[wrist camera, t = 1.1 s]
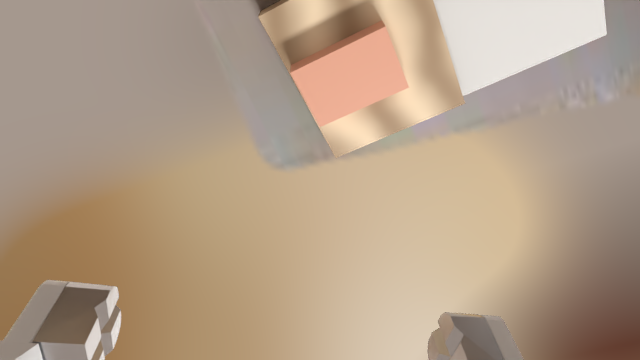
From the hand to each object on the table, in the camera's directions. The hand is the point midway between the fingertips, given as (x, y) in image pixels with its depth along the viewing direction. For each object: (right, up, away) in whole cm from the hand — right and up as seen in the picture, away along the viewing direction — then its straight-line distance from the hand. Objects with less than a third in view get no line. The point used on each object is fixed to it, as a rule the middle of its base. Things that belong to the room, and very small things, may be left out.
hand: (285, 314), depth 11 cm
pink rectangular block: (+4, +14, +28) cm, 32 cm away
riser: (+5, +15, +30) cm, 34 cm away
